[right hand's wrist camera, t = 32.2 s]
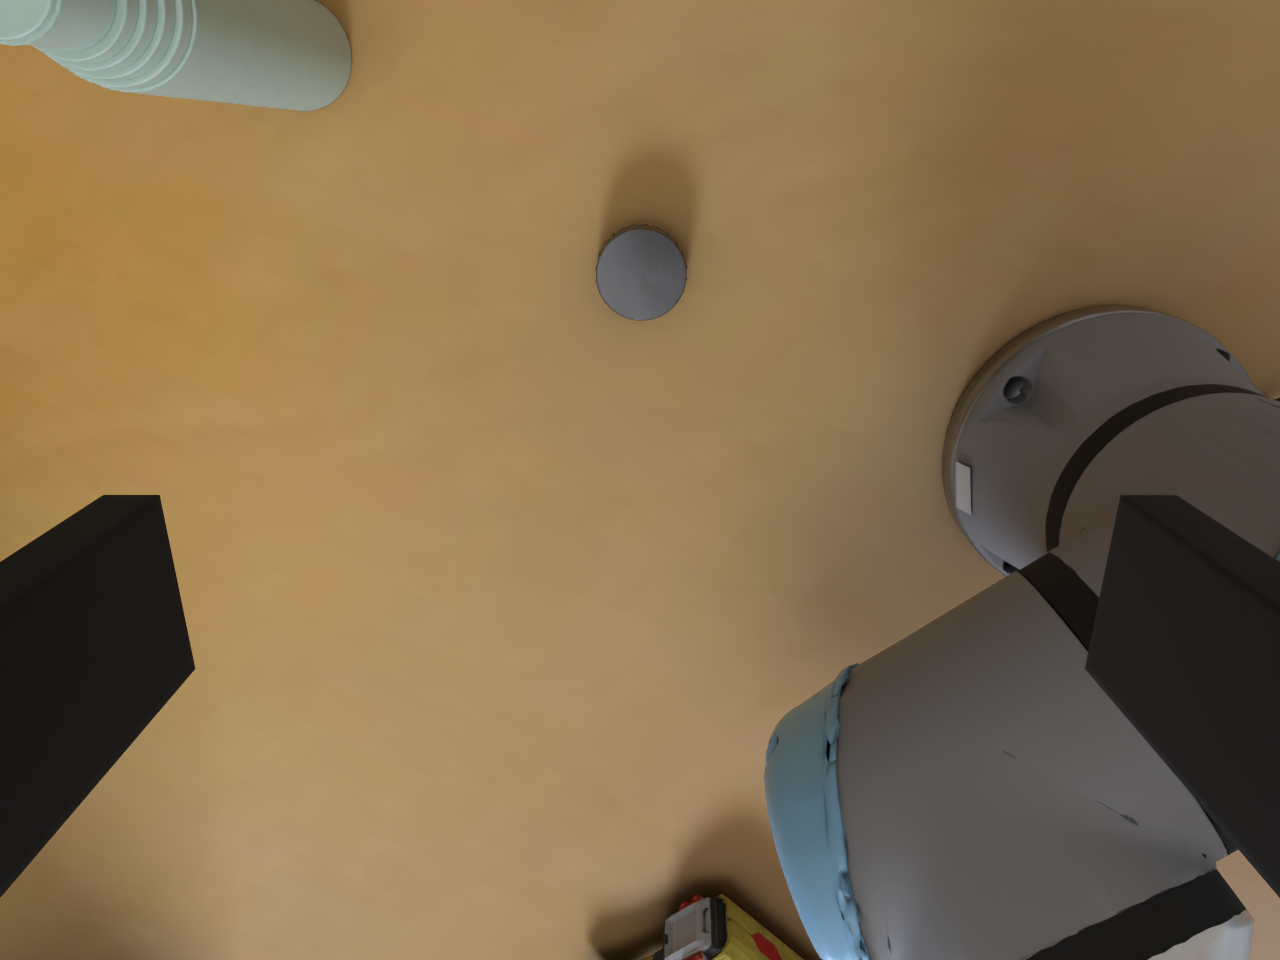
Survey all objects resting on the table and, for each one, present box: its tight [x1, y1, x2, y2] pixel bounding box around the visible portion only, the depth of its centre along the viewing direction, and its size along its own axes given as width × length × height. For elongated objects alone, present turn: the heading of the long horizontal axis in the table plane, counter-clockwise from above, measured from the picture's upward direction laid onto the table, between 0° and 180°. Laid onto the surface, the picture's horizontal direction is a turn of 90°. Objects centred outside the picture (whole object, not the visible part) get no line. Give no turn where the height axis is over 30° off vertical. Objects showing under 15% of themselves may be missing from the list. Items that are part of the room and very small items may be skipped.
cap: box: [595, 224, 687, 321], centre depth 43 cm, size 4×4×2 cm
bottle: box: [0, 0, 352, 111], centre depth 31 cm, size 5×5×20 cm
